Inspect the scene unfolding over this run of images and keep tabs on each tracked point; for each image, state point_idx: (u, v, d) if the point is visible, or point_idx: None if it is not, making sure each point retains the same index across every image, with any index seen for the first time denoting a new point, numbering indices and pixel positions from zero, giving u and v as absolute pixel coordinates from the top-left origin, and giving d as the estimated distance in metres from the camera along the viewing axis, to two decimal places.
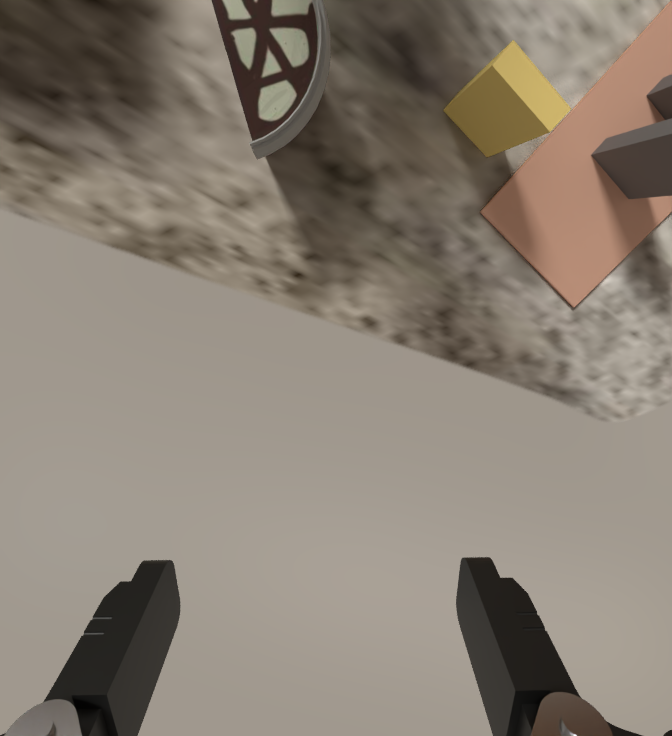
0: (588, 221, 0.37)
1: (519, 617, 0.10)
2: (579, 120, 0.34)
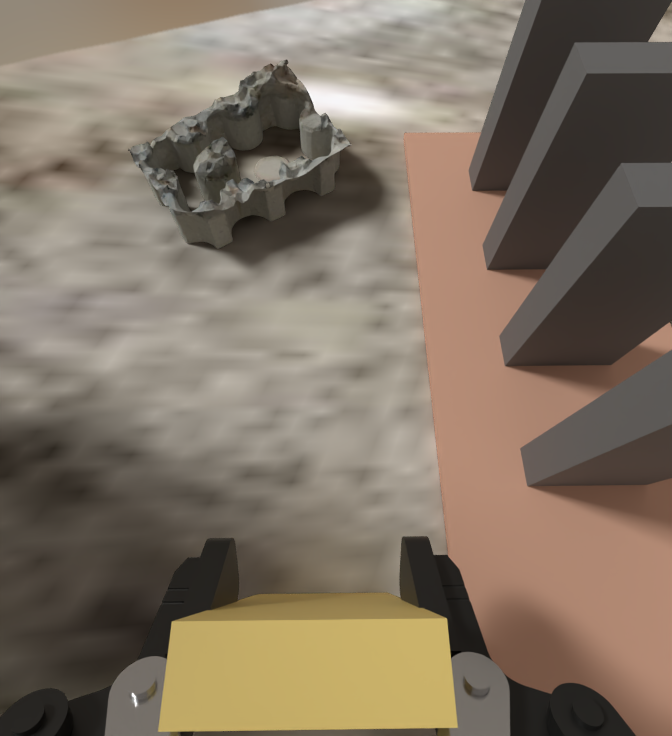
0: (641, 572, 0.17)
1: (447, 589, 0.11)
2: (462, 463, 0.19)
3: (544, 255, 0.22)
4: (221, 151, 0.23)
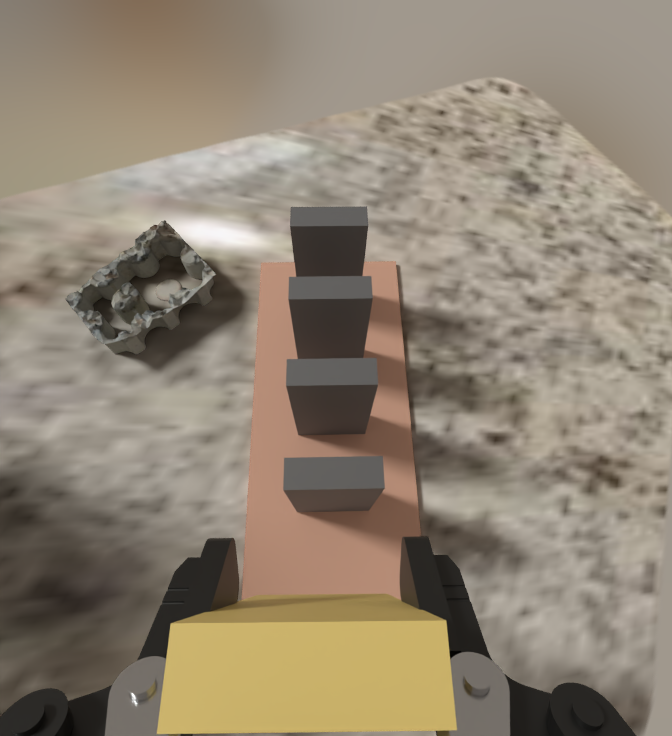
0: (353, 562, 0.30)
1: (447, 589, 0.11)
2: (260, 498, 0.31)
3: None
4: (128, 292, 0.36)
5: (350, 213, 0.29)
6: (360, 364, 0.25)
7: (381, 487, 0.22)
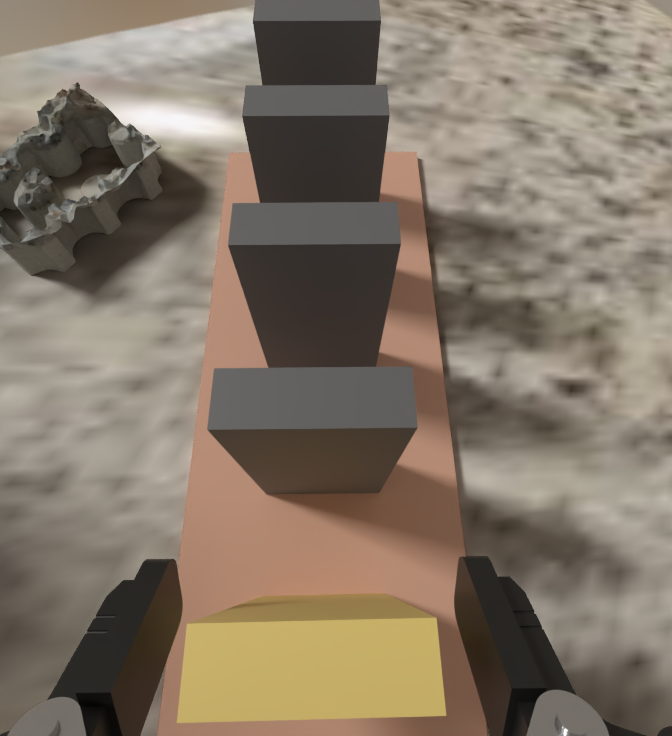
0: (354, 576, 0.18)
1: (516, 616, 0.10)
2: (210, 472, 0.20)
3: None
4: (37, 181, 0.24)
5: (352, 5, 0.18)
6: (367, 212, 0.13)
7: (410, 426, 0.11)
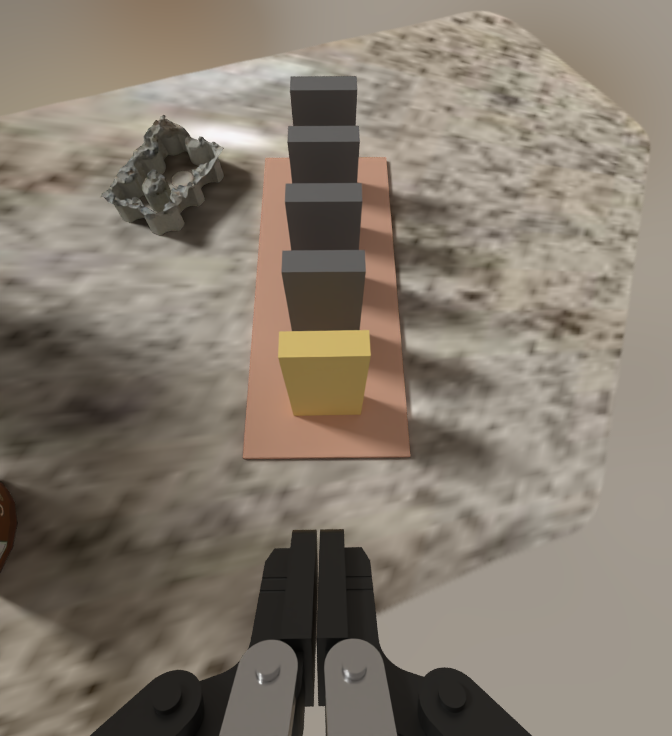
0: None
1: (353, 580, 0.12)
2: (263, 338, 0.36)
3: None
4: (156, 177, 0.40)
5: (342, 81, 0.33)
6: (347, 187, 0.29)
7: (363, 271, 0.26)
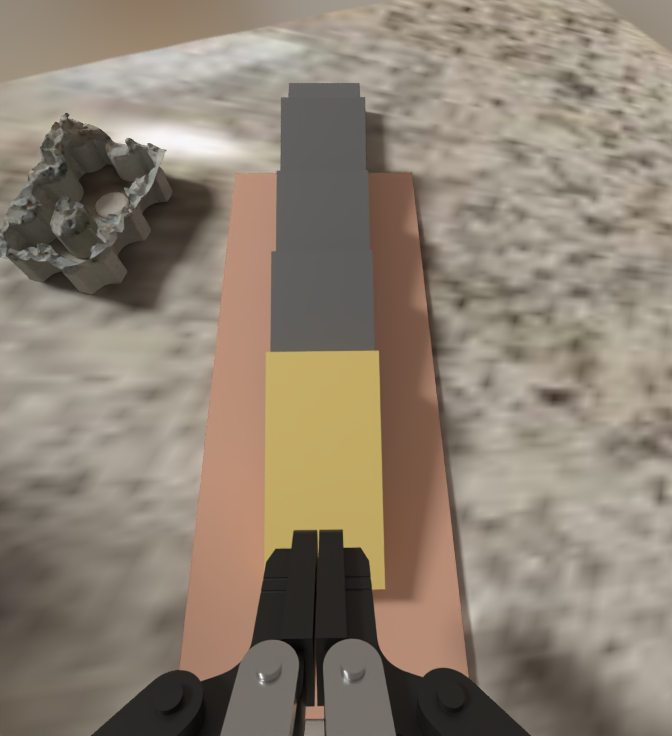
0: None
1: (352, 580, 0.12)
2: (220, 475, 0.22)
3: None
4: (70, 207, 0.26)
5: None
6: None
7: (369, 251, 0.22)
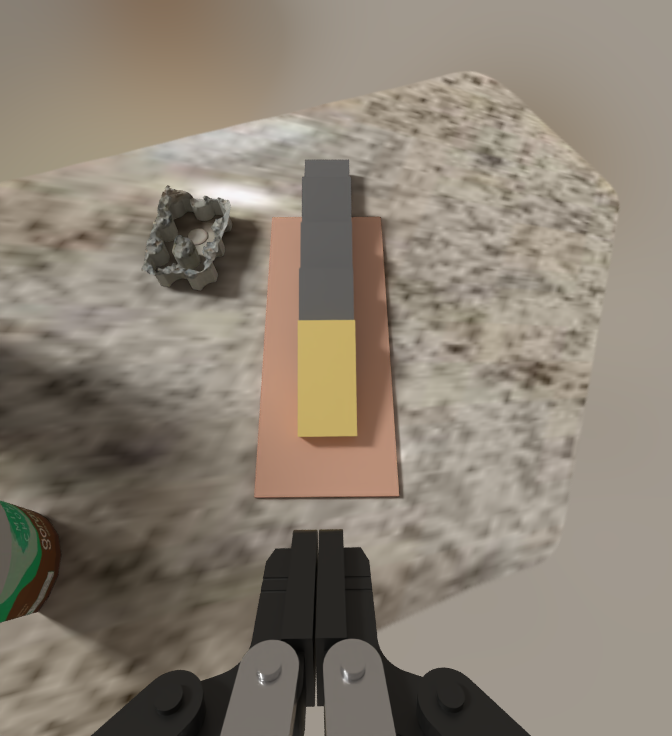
0: None
1: (352, 580, 0.12)
2: (271, 388, 0.41)
3: None
4: (183, 241, 0.45)
5: None
6: None
7: (351, 268, 0.41)
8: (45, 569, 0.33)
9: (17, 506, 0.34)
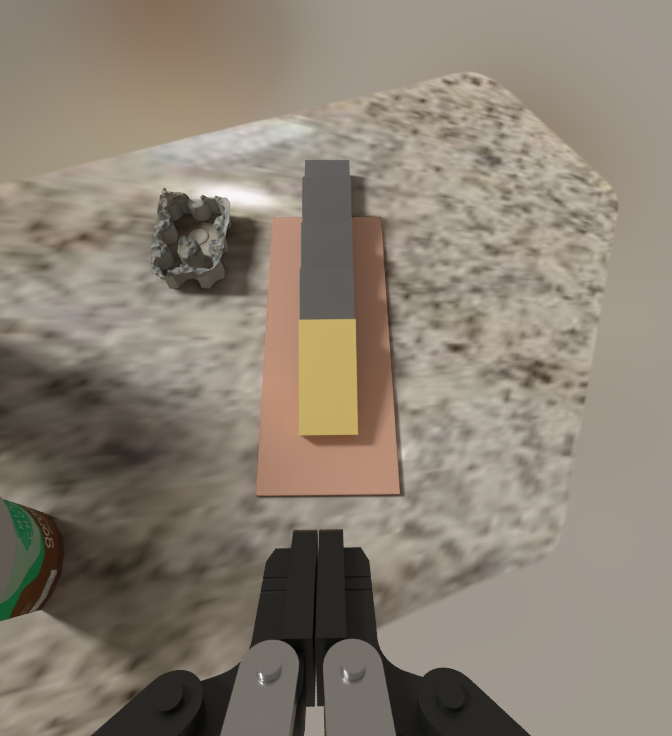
0: None
1: (352, 580, 0.12)
2: (272, 387, 0.41)
3: None
4: (187, 241, 0.45)
5: None
6: None
7: (351, 267, 0.41)
8: (48, 567, 0.33)
9: (20, 505, 0.35)
